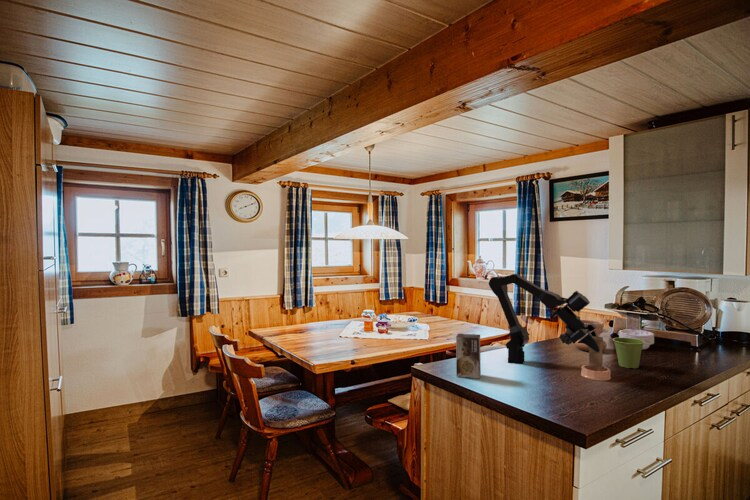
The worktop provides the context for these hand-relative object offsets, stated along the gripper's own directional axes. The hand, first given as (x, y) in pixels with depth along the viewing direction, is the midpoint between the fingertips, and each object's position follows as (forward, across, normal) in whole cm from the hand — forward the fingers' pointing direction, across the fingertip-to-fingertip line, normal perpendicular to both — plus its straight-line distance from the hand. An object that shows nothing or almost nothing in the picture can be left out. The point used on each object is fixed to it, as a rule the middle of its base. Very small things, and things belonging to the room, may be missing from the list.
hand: (599, 350), depth 163 cm
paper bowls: (+10, -66, -5) cm, 67 cm away
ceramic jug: (-2, -46, -18) cm, 49 cm away
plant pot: (+12, -24, -3) cm, 27 cm away
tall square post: (+4, 0, -6) cm, 7 cm away
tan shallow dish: (+7, 0, -8) cm, 11 cm away
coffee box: (-21, +32, -36) cm, 53 cm away
